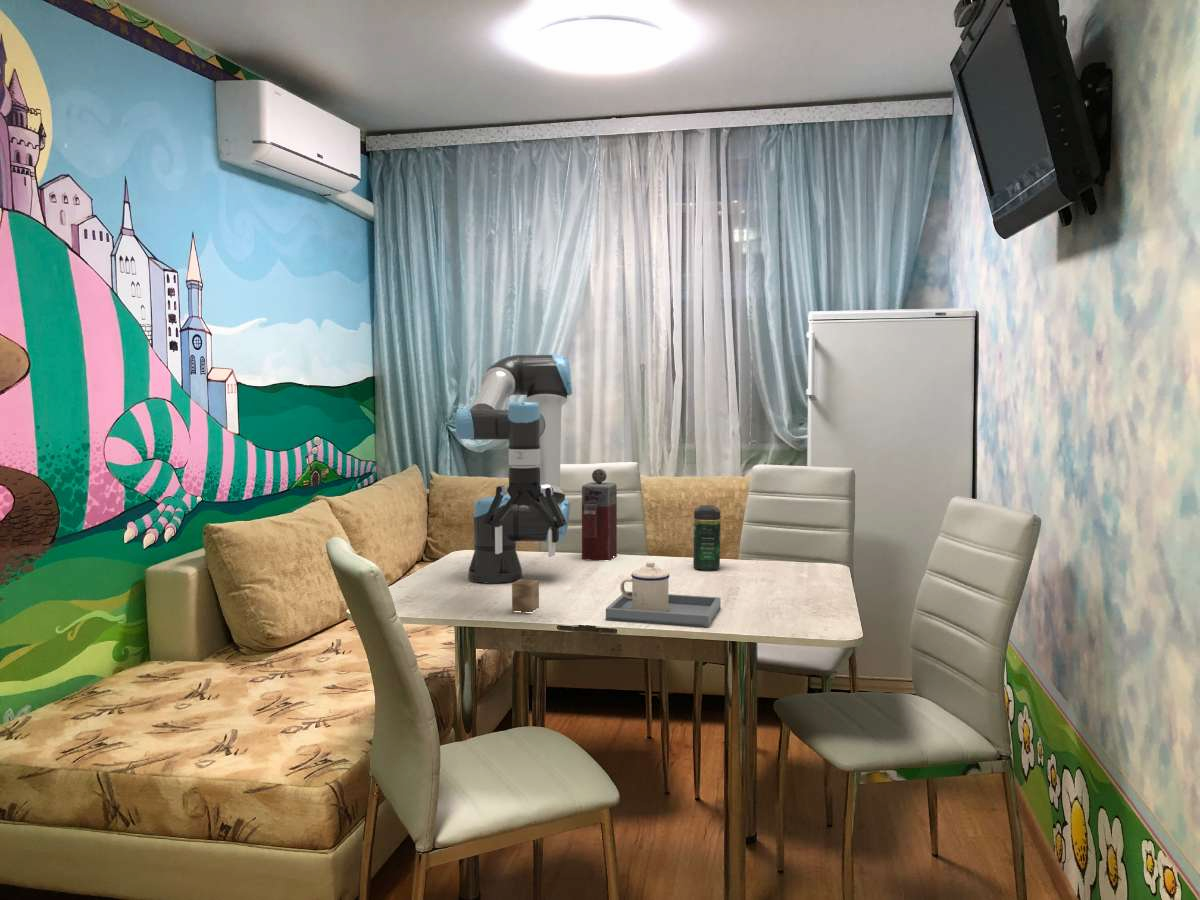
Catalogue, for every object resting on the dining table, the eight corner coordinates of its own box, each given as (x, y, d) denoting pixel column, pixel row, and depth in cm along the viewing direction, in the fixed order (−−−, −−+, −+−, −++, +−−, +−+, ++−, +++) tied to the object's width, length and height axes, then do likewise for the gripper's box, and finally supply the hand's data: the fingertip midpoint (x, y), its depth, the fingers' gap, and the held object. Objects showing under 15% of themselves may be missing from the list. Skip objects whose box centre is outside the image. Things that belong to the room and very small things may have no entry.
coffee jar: (720, 571, 259) (720, 508, 258) (693, 570, 260) (693, 507, 259) (720, 564, 269) (720, 503, 267) (693, 564, 270) (693, 503, 268)
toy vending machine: (579, 560, 275) (579, 470, 273) (590, 554, 286) (589, 467, 284) (607, 562, 272) (607, 471, 270) (616, 555, 283) (616, 468, 281)
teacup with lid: (673, 607, 216) (673, 559, 215) (663, 616, 207) (663, 567, 206) (626, 603, 220) (626, 556, 219) (614, 612, 211) (614, 563, 210)
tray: (605, 619, 207) (605, 608, 207) (625, 601, 224) (625, 591, 224) (708, 627, 200) (708, 616, 200) (720, 608, 217) (720, 597, 217)
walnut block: (512, 612, 214) (511, 583, 213) (519, 607, 219) (519, 579, 218) (531, 613, 213) (531, 585, 212) (538, 608, 217) (538, 580, 217)
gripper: (469, 466, 213) (470, 554, 214) (569, 468, 206) (569, 559, 207) (482, 464, 220) (483, 549, 221) (579, 466, 213) (579, 554, 214)
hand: (525, 554), depth 214 cm, fingers open, 13 cm apart
